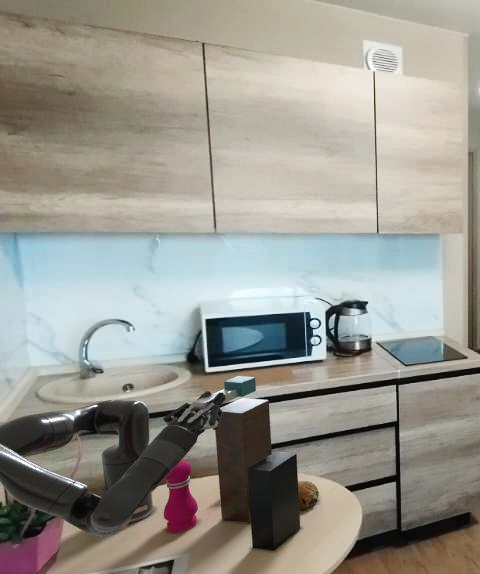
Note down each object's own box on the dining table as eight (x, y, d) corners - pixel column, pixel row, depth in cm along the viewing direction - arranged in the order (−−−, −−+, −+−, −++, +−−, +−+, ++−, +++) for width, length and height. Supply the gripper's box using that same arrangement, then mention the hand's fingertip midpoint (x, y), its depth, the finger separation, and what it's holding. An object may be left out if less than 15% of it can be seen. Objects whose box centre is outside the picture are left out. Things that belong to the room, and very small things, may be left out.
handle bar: (189, 410, 144) (188, 395, 143) (239, 389, 160) (238, 375, 159) (208, 412, 143) (207, 397, 143) (256, 390, 159) (255, 377, 159)
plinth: (221, 520, 158) (213, 410, 153) (249, 501, 168) (242, 397, 163) (248, 523, 158) (241, 413, 152) (274, 503, 168) (268, 400, 162)
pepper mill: (180, 535, 151) (174, 464, 148) (157, 531, 152) (151, 460, 149) (205, 520, 158) (200, 452, 155) (184, 516, 159) (178, 449, 156)
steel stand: (252, 548, 147) (247, 468, 144) (279, 526, 157) (275, 451, 153) (274, 550, 147) (269, 471, 143) (300, 528, 157) (296, 453, 153)
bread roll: (313, 503, 175) (306, 477, 176) (327, 500, 169) (320, 474, 170) (277, 516, 167) (271, 490, 168) (291, 514, 161) (284, 486, 162)
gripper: (148, 456, 138) (198, 400, 152) (202, 461, 137) (248, 405, 151) (131, 437, 134) (184, 381, 147) (187, 443, 132) (235, 386, 146)
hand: (216, 394), depth 149 cm, fingers closed on handle bar, 3 cm apart
